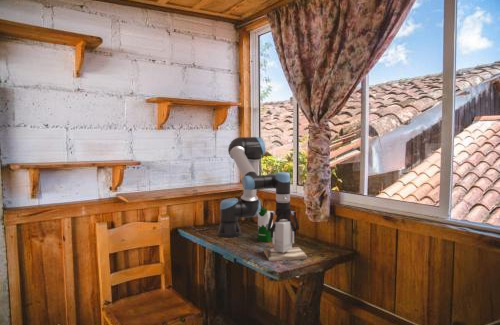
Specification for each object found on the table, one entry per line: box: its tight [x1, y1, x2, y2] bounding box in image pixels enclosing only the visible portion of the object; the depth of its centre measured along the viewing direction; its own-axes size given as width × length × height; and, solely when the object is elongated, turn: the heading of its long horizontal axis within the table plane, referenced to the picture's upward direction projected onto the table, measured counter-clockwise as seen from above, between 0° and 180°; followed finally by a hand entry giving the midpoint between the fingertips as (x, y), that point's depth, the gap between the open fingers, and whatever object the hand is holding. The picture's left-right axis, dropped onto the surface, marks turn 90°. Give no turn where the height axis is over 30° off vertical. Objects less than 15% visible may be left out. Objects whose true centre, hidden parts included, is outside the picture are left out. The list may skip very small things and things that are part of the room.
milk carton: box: [256, 207, 275, 244], centre depth 222 cm, size 9×9×20 cm
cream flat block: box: [263, 242, 308, 262], centre depth 193 cm, size 16×21×5 cm
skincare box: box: [273, 219, 293, 253], centre depth 192 cm, size 8×7×16 cm
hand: (283, 243), depth 192 cm, fingers closed on skincare box, 10 cm apart
